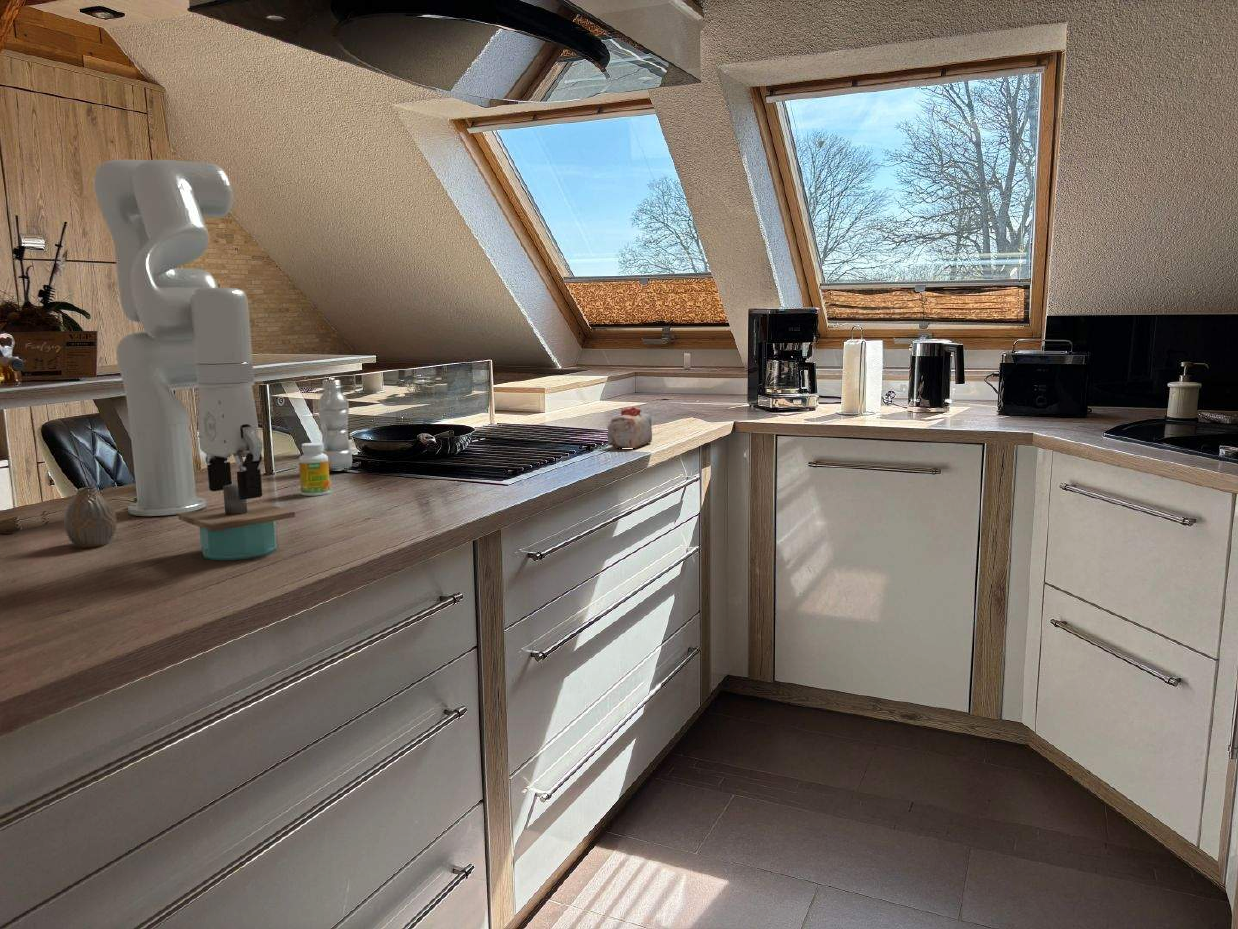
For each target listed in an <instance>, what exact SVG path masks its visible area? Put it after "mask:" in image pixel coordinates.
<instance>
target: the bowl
mask: <svg viewBox="0 0 1238 929" xmlns="http://www.w3.org/2000/svg"><path fill="white" fill-rule="evenodd" d="M199 535H200V548H201V552H202V556H203V557H204V558H205V559H207V560H210V561H211V560H213V561H241V560H248V559H254V558H258V557H262V556H266V555H269V554H271V553H274V552H275V551H276V550H277V528H276V521H270V522H265V523H259V524H254V525H248V526H242V527H237V528H231V529H225V530H220V531H214V532H212V531H210V530H207V529H204V528H201V527H199Z"/></svg>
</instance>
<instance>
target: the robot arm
mask: <svg viewBox="0 0 1238 929" xmlns="http://www.w3.org/2000/svg"><path fill="white" fill-rule="evenodd" d="M93 178H94V179H93V180H94V181H93V182H94V185H93V186H94V192H95V193H94V194H95V198H96V202H97V205H98V207H99V210H100V213H101V216H102V217H103V219H104V222H105V223H106V226H107V228H108V230H109V233H110V235H111V239H112V241H113V246H114V255H115V265H116V266H115V267H116V274H117V283H118V293H119V299H120V300H119V301H120V305H121V309H122V311H123V314H124V315H125V317H126V318H127V319H128V320H130V321H132V322H133V323H140V324H141V326H142V328H143V330H144V331H140V332H139V331H138V332H134V333H130V334H128V335H126V336H124V337H123V338H121V340H119V342H118V343H117V346H116V360H117V361H116V362H117V365H118V370H119V372H120V376H121V379H122V384H123V388H124V393H125V399H126V405H127V406H126V407H127V413H128V414H127V415H128V423H129V429H130V430H129V431H130V439H131V448H132V449H131V451H132V460H133V461H132V462H133V468H134V469H133V471H134V478H135V479H134V480H135V490H136V498H137V500H136V501H137V502H135V503H132V504H129V506H128V508H127V509H128V510H127V511H128V513H129V515H133V516H136V517H137V516H140V517H158V516H159V517H161V516H163V517H164V516H171V515H178V514H181V513H187V512H193V511H200V510H201V509H203V508H205V507H206V506H207V501H206V499H205V498H203V497H199V496H197V493H196V484H195V473H194V472H195V471H194V459H193V458H194V457H193V451H192V449H193V448H192V440H191V438H192V437H191V426H190V418H189V417H190V416H189V415H190V414H189V411H188V409H187V406H186V405H185V403H184V402H183V400H181V399H180V398H179V396H177V395H176V394H175V392H173V391H172V390H171V387H175V386H182V385H183V386H184V385H197V388H198V402H197V404H198V405H197V411H198V412H197V415H198V416H197V417H198V418H197V419H198V437H199V438H198V439H199V440H198V441H199V449H200V450H201V451H202V452H203V453H204V454H206V455H205V463H206V468H207V478H208V479H207V480H208V489H209V491H210V492H218V491H219V492H220V491H223V486H225V485H231V484H233V483H232V482H233V481H232V470H231V468H232V467H231V462H229V461H228V459H229V458H231V457H232V456H233V457H234V460H235V463H236V465H237V467H238V471H236V478H237V479H236V480H237V481H236V482H237V484H238V494H239V499H241V500H245V499H246V500H251V499H256V498H261V497H262V496H263V486H262V477H261V476H262V474H261V470H262V462H261V461H262V460H263V455H262V452H263V451H262V450H263V441H262V440H261V438H260V436H259V432H260V431H259V424H258V416H257V415H258V414H257V409H256V403H255V397H254V392H253V391H254V390H253V386H255V373H254V361H253V350H252V337H251V323H250V313H249V312H250V309H249V300H248V296H247V294H246V293H245V291H244V290H242V289H240V288H235V287H218V286H219V285H218V283H217V281H216V279H215V278H214V276H213V275H212V274H211V273H210V272H208V271H207V270H204V269H201V268H192V267H190V268H189V267H183V268H182V267H181V266H184V265H186V264H190V263H191V262H193V261H195V260H197V259H199V258H200V257H201V256H202V255H203V254H205V252H207V250H208V248H209V245H210V233H209V230H208V228H207V225H206V221H205V220H204V218H205V217H206V218H207V217H209V218H223V217H227V215H228V214H229V213H230V211H231V209H232V207H233V201H234V194H233V187H232V186H233V185H232V183H231V181H230V178H229V176H228V174H227V173H226V171H224V169H223V168H221V167H220V166H219V165H217V164H215V163H210V162H201V161H189V160H188V161H187V160H175V159H150V160H144V159H127V158H123V159H119V158H117V159H110V160H106V161H104V162H102V163H100V164H99V165H98V166H97V168H96V169H95V172H94V176H93Z"/></svg>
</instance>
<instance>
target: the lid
mask: <svg viewBox="0 0 1238 929" xmlns="http://www.w3.org/2000/svg"><path fill="white" fill-rule="evenodd" d="M222 491H223V500H224V501H223V502H224V503H223V505H224V506H220V507H213V508H207V509H202V510H201V509H199V510H196V511H191V512H187V513H181V514H177V515H178V516H177V517H178V520H179V521H182V522H186V523H188V524H191V525H193V526H196V527H198V528H200V527H201V528H204V529H207V530H210V531H212V532H214V531H220V530H225V529H231V528H237V527H242V526H248V525H254V524H259V523H265V522H270V521H275V522H277V521H280V520H287V519H293V518H296V511H293V510H290V509H287V508H282V507H279V506H276V505H272V504H269V503H265V502H261V501H258V500H256V501H250V502H247V500H248V499H245V500H241V499H239V494H238V483H232V484H231V485H225V486H223V490H222Z"/></svg>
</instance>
